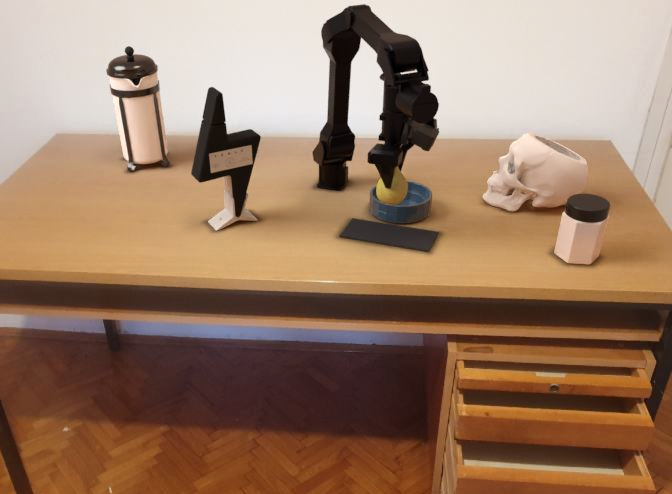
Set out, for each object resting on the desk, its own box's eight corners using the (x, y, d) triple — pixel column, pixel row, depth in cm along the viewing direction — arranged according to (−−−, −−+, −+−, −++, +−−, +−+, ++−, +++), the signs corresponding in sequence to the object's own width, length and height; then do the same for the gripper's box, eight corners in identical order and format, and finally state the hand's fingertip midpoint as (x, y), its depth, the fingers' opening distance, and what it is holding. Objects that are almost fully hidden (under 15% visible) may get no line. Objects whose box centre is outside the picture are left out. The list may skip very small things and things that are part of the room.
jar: (565, 241, 151) (577, 189, 143) (603, 252, 146) (617, 199, 139) (548, 257, 145) (559, 204, 138) (586, 269, 141) (600, 215, 134)
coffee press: (188, 156, 194) (174, 42, 176) (148, 177, 183) (129, 57, 165) (141, 145, 202) (123, 34, 184) (101, 164, 191) (78, 48, 173)
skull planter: (473, 180, 172) (522, 113, 161) (541, 219, 175) (593, 156, 163) (474, 205, 161) (527, 135, 150) (546, 245, 164) (603, 180, 153)
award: (205, 233, 157) (189, 98, 139) (196, 224, 161) (180, 91, 143) (266, 218, 163) (258, 86, 145) (256, 209, 166) (248, 79, 149)
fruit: (406, 197, 153) (410, 143, 146) (407, 212, 147) (411, 157, 140) (375, 196, 154) (378, 143, 147) (375, 211, 148) (377, 157, 141)
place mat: (339, 237, 154) (339, 235, 154) (352, 219, 161) (352, 218, 161) (428, 252, 148) (428, 250, 148) (438, 233, 155) (438, 231, 155)
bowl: (361, 219, 161) (362, 201, 158) (379, 194, 172) (380, 177, 169) (421, 228, 157) (423, 210, 154) (436, 202, 167) (438, 185, 164)
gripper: (425, 128, 129) (419, 205, 139) (447, 97, 143) (440, 170, 152) (368, 121, 133) (365, 197, 142) (394, 92, 146) (390, 163, 156)
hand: (392, 181), depth 148 cm, fingers closed on fruit, 6 cm apart
